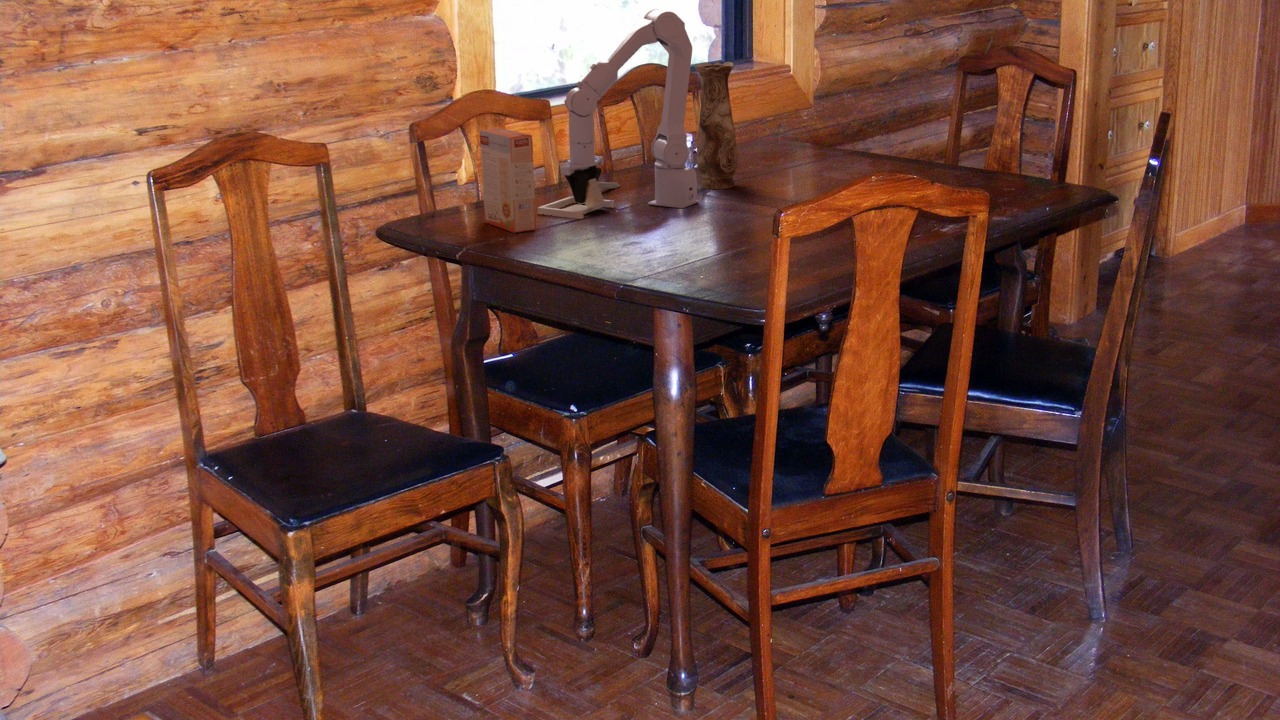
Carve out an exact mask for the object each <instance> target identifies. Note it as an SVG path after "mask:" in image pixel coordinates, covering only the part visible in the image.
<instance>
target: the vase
mask: <svg viewBox="0 0 1280 720" xmlns="http://www.w3.org/2000/svg"><path fill="white" fill-rule="evenodd" d="M734 67H735V64H734V63H733V62H731V61H725V62H723V64H722V63H720V62H714V63H713V64H711V63H710V62H701V63H698V64H696V65H694V68H695V70H696V72H697V73H698V75H699V76H700V79H701V97H700V98H701V99H700V114H699V123H698V130H697V131H698V133H697V141H696V142H697V143H696V166H697V171H698V174H699V175H700V177H701V178H702V182H701V183H700V187H701V188H703V189H708V190H724V189H731V188H734V187H735V186H737V184H736V182H735V181H734V176H735V175H736V173H737V171H738V167H739V154H738V153H739V152H738V143H737V137H736V132H735V125H734V119H733V112H732V106H731V105H732V104H731V99H730V91H729V76H730V75H731V72H732V70H733V68H734Z"/></svg>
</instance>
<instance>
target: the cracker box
mask: <svg viewBox="0 0 1280 720" xmlns="http://www.w3.org/2000/svg"><path fill="white" fill-rule="evenodd" d="M479 142H480V143H479V144H480V158H481V159H480V160H481V161H480V162H481V177H482V178H481V179H482V192H483V193H482V194H483V196H482V197H483V207H484V208H483V209H484V210H483V213H484V222H486V224H488V223H489V225H492V226H494V227H496V226H497V227H496V228H499V227H500V228H499V229H502V230H506V231H508V232H510V233H513V234H516V233H517V232H518V233H523V232H524V231H525V232H530V231H536V230H537V220H536V219H537V217H536V214H537V213H536V197H535V195H536V194H535V193H536V192H535V191H536V190H535V172H534V169H535V168H534V152H533V148H534V146H533V145H534V143H533V135H532V134H529V133H526V132H525V133H524V132H520V131H516V130H511V129H507V128H502V127H495V128H488V129H481V130H479Z"/></svg>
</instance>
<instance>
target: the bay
mask: <svg viewBox="0 0 1280 720" xmlns="http://www.w3.org/2000/svg"><path fill="white" fill-rule="evenodd" d="M603 200H604V202H608V201H611V200H612V199H603ZM612 201H613V204H611V205H608V206H605V207H604V208H612V209H613V208H615V200H612ZM572 203H576V202H575V199H574V196H572V195H571V196H568V197H565V198H562V199H559V200H556V201H554V202H553V201H552V202H550V203H547V204H544V205H540V206H539V207H537V208H536V209H537V214H538V215H543V214H544V215H545V216H551V215H552V217H553V216H554V217H559V218H560V217H562V218H569V219H580V220H582V219H584V218H585V216H584V215H583V212H582V211H574V210H565V209H564V207H566V205H567V206H570V205H573V204H572ZM569 204H570V205H569ZM582 204H585V201H584V203H578V205H582ZM585 205H586V204H585ZM544 215H543V216H544Z"/></svg>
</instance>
